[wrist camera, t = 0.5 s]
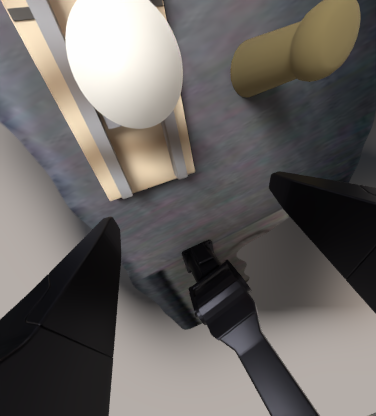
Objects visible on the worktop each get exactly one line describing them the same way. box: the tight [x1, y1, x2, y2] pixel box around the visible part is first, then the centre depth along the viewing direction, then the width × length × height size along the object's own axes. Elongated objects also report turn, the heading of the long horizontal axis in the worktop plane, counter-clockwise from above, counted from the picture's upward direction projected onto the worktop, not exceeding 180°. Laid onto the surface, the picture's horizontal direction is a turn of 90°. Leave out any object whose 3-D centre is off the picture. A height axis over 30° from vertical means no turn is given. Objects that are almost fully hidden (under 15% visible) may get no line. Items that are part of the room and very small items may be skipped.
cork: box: [231, 0, 360, 97], centre depth 17 cm, size 6×6×11 cm
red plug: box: [65, 0, 183, 129], centre depth 12 cm, size 5×5×10 cm
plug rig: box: [1, 0, 195, 201], centre depth 15 cm, size 22×12×6 cm, turn 12°
